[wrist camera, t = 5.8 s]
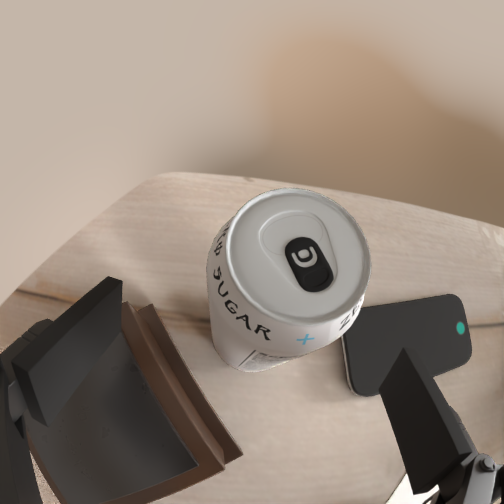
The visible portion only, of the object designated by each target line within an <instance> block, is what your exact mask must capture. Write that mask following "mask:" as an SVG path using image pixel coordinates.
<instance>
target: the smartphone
mask: <svg viewBox="0 0 504 504" xmlns="http://www.w3.org/2000/svg"><path fill="white" fill-rule="evenodd" d="M341 341H342V347H343V354H344V361H345V368H346V375H347V381H348V385H349V388H350V390H351V391H352V393H353V394H355V395H358V396H363V397H368V396H374V395H378V394H380V392H379V387H380V386H381V384H382V382H383V381H384V379H385V378H386V376H387V374H388V373H389V371H390V369H391V367H392V366H393V364H394V362H395V361H396V359H397V357H398V355H399V353H400V352H401V350H402V348H403V347H407V348H414V349H416V351H417V352H418V354H419V356H420V357H421V359H422V360H423V362H424V364H425V365H426V367H427V369H428V370H429V372H430V374H431V375H432V377H434V376H437V375H439V374H442V373H445V372H447V371H450V370H452V369H455V368H457V367H460V366H462V365H464V364H465V363H467V362H468V361H469V359H470V357H471V354H472V345H471V339H470V333H469V329H468V324H467V319H466V315H465V310H464V307H463V304H462V301H461V300H460V298H459V297H457V296H456V295H454V294H446V295H440V296H434V297H429V298H423V299H417V300H411V301H405V302H398V303H391V304H385V305H378V306H370V307H363V308H360V311H359V314H358V316H357V317H356V319H355V320H354V322H353V324H352V325H351V327H350V328H349V329H348V330H347V331H346V332H345V333H344V334H343V335H342V336H341Z"/></svg>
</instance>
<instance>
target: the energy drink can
mask: <svg viewBox="0 0 504 504" xmlns="http://www.w3.org/2000/svg"><path fill="white" fill-rule="evenodd" d="M206 270H207V286H208V298H209V310H210V321H211V331H212V340H213V344H214V347H215V349H216V351H217V353H218V354H219V356H220V357H221V358H222V359H223V360H224V361H225V362H226V363H227V364H228V365H230V366H232V367H233V368H235V369H237V370H241V371H244V372H261V371H264V370H267V369H270V368H273V367H276V366H278V365H281V364H283V363H286V362H289V361H291V360H294V359H296V358H299V357H301V356H304V355H306V354H308V353H311V352H313V351H316V350H318V349H320V348H323V347H325V346H327V345H329V344H330V343H332V342H333V341H335V340H336V339H338V338H340V337H341V336H342V335H343V334H344V333H345V332H346V331H347V330H348V329H349V328H350V327H351V325H352V324H353V322H354V320H355V319H356V317H357V316H358V314H359V311H360V308H361V306H362V303H363V300H364V293H365V291H366V289H367V286H368V283H369V280H370V274H371V255H370V250H369V246H368V243H367V239H366V237H365V235H364V233H363V231H362V229H361V227H360V226H359V225H358V223H357V222H356V221H355V219H354V218H353V217H352V216H351V215H350V214H349V213H348V212H347V211H346V210H345V209H344V208H343V207H342V206H340V205H339V204H338V203H336V202H335V201H334V200H332V199H330V198H328V197H326V196H324V195H322V194H319V193H316V192H313V191H310V190H305V189H299V188H281V189H275V190H270V191H267V192H265V193H262V194H259V195H257V196H256V197H254V198H253V199H251V200H249V201H248V202H247V203H246V204H245V205H244V206H242V207H241V208H240V209H239V210H238V212H237V213H236V215H235V216H233V217H232V218H231V219H230V220H229V221H228V222H227V223H226V224H225V225H224V226H223V227H222V228H221V230H220V231H219V233H218V234H217V235H216V237H215V238H214V241H213V243H212V246H211V248H210V251H209V254H208V260H207V267H206Z"/></svg>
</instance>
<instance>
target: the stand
mask: <svg viewBox="0 0 504 504" xmlns="http://www.w3.org/2000/svg"><path fill="white" fill-rule="evenodd" d="M23 416H24V419H25V426H26V433H27V439H28V445H29V450H30V452H31V454H32V456H33V458H34V459H35V461H36V463H37V465H38V467H39V469H40V471H41V472H42V474H43V476H44V478H45V479H46V481H47V483H48V484H49V486H50V488H51V489H52V491H53V492H54V494H55V495H56V497H57V499H58V500H59V502H60V503H61V504H147V503H150V502H153V501H155V500H158V499H161V498H163V497H166V496H169V495H171V494H174V493H176V492H178V491H181V490H183V489H186V488H188V487H190V486H192V485H195V484H197V483H199V482H201V481H203V480H206V479H208V478H210V477H212V476H214V475H216V474H218V473H220V472H222V471H224V470H225V464H227V463H229V462H231V461H233V460H235V459H237V458H239V457H240V456H242V455H243V452H242V450H241V449H240V447H239V446H238V444H237V443H236V442H235V440H234V439H233V437H232V436H231V434H230V433H229V432H228V430H227V429H226V427H225V426H224V424H223V423H222V421H221V420H220V418H219V417H218V415H217V414H216V412H215V411H214V409H213V408H212V406H211V404H210V403H209V401H208V400H207V398H206V397H205V395H204V393H203V392H202V390H201V389H200V387H199V385H198V384H197V382H196V380H195V379H194V377H193V375H192V374H191V372H190V370H189V369H188V367H187V365H186V363H185V362H184V360H183V358H182V356H181V355H180V353H179V351H178V349H177V348H176V346H175V344H174V342H173V340H172V338H171V337H170V335H169V333H168V331H167V329H166V327H165V325H164V323H163V322H162V320H161V318H160V316H159V314H158V312H157V310H156V308H155V307H154V306H153V304H150V305H148V306H146V307H144V308H143V309H141V310H139V311H136V310H135V309H134V308H133V307H132V306H131V305H130V304H129V303H128V302H127V301H126V302H124V303H122V310H121V332H120V333H119V335H118V336H117V337H116V338H115V340H114V341H113V342H112V343H111V345H110V346H109V347H108V348H107V350H106V351H105V352H104V353H103V355H102V356H101V357H100V359H99V360H98V361H97V362H96V364H95V365H94V366H93V368H92V369H91V370H90V372H89V373H88V374H87V376H86V377H85V378H84V379H83V381H82V382H81V383H80V385H79V386H78V387H77V389H76V390H75V392H74V393H73V394H72V396H71V397H70V398H69V400H68V401H67V402H66V404H65V405H64V406H63V408H62V409H61V411H60V412H59V413H58V415H57V416H56V418H55V419H54V420H53V422H52V423H51V425H50V426H49V428H48V427H46V426H44V425H43V424H41V423H39V422H38V421H36V420H35V419H33V418H32V417H31V415H30V412H29V410H28V408H27V409H26V410H25V411H24V413H23Z"/></svg>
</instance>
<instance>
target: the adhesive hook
mask: <svg viewBox="0 0 504 504" xmlns="http://www.w3.org/2000/svg"><path fill="white" fill-rule="evenodd" d="M438 490H439V487H438V484H437V485H436V486H435V487H434V488H433V489H431V490H430V491H429V492H427V493H422V494H417V495H413V492H412V489H411V485H410V482H409V478H408V475H407V474H406V475H405V477H404V478H403V480H402V481H401V483H400V484H399V486H398V487H397V489H396V490H395V492H394V493H393V495H392V496H391V498H390V499H389V500H388V502H387V503H386V504H423V502H424V501H425V500H426V499H428V498H429V497H430V496H432V495H433V494H434V493H435V492H437V491H438ZM430 503H431V500H430V501H429V502H428V503H426V504H430Z"/></svg>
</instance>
